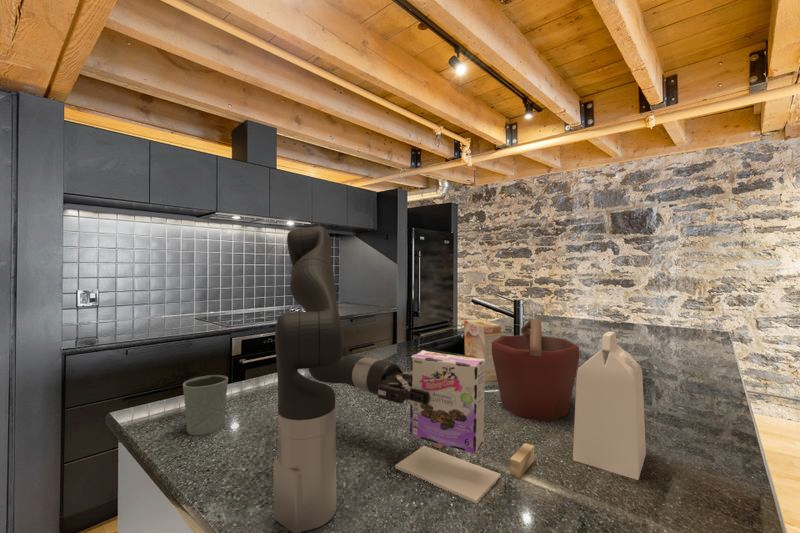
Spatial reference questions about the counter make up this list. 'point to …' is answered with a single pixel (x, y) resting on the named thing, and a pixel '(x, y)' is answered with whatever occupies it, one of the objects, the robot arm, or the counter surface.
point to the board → (449, 473)
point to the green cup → (205, 404)
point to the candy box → (448, 400)
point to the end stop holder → (516, 459)
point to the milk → (610, 411)
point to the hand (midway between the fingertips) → (438, 393)
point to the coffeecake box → (482, 343)
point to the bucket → (535, 372)
